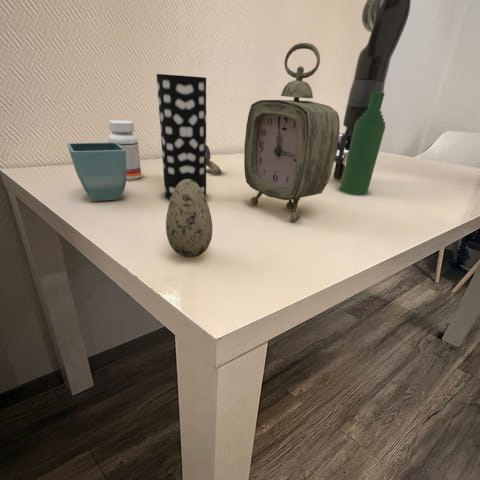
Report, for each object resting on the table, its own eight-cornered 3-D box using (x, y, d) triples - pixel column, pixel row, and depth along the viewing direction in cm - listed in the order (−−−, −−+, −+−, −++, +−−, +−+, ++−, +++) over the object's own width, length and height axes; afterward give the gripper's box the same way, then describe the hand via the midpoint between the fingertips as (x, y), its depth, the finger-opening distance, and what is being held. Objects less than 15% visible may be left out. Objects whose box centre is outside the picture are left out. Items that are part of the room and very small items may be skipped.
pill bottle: (115, 174, 80) (106, 119, 73) (141, 174, 81) (135, 120, 75) (113, 180, 75) (104, 122, 68) (141, 180, 76) (135, 123, 70)
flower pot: (77, 193, 66) (66, 142, 60) (123, 190, 69) (116, 141, 64) (83, 206, 59) (71, 151, 54) (133, 202, 63) (126, 149, 58)
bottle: (349, 186, 83) (372, 91, 72) (372, 192, 80) (400, 93, 68) (334, 189, 80) (356, 90, 68) (357, 196, 76) (384, 92, 65)
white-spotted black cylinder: (214, 196, 69) (215, 78, 58) (189, 205, 63) (185, 75, 52) (182, 189, 72) (178, 75, 61) (156, 197, 66) (145, 73, 55)
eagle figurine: (179, 166, 85) (207, 165, 80) (185, 139, 85) (213, 136, 80) (198, 180, 92) (224, 179, 87) (203, 154, 91) (230, 152, 87)
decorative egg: (191, 244, 49) (189, 171, 43) (221, 257, 46) (223, 180, 40) (158, 255, 45) (151, 177, 39) (188, 270, 42) (185, 188, 36)
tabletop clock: (241, 204, 66) (250, 40, 51) (273, 198, 71) (290, 47, 56) (294, 227, 57) (325, 37, 43) (327, 218, 62) (364, 46, 48)
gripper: (366, 103, 84) (350, 171, 94) (332, 102, 76) (318, 177, 86) (393, 106, 80) (373, 177, 89) (360, 105, 72) (343, 183, 81)
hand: (346, 177), depth 88 cm, fingers open, 8 cm apart
